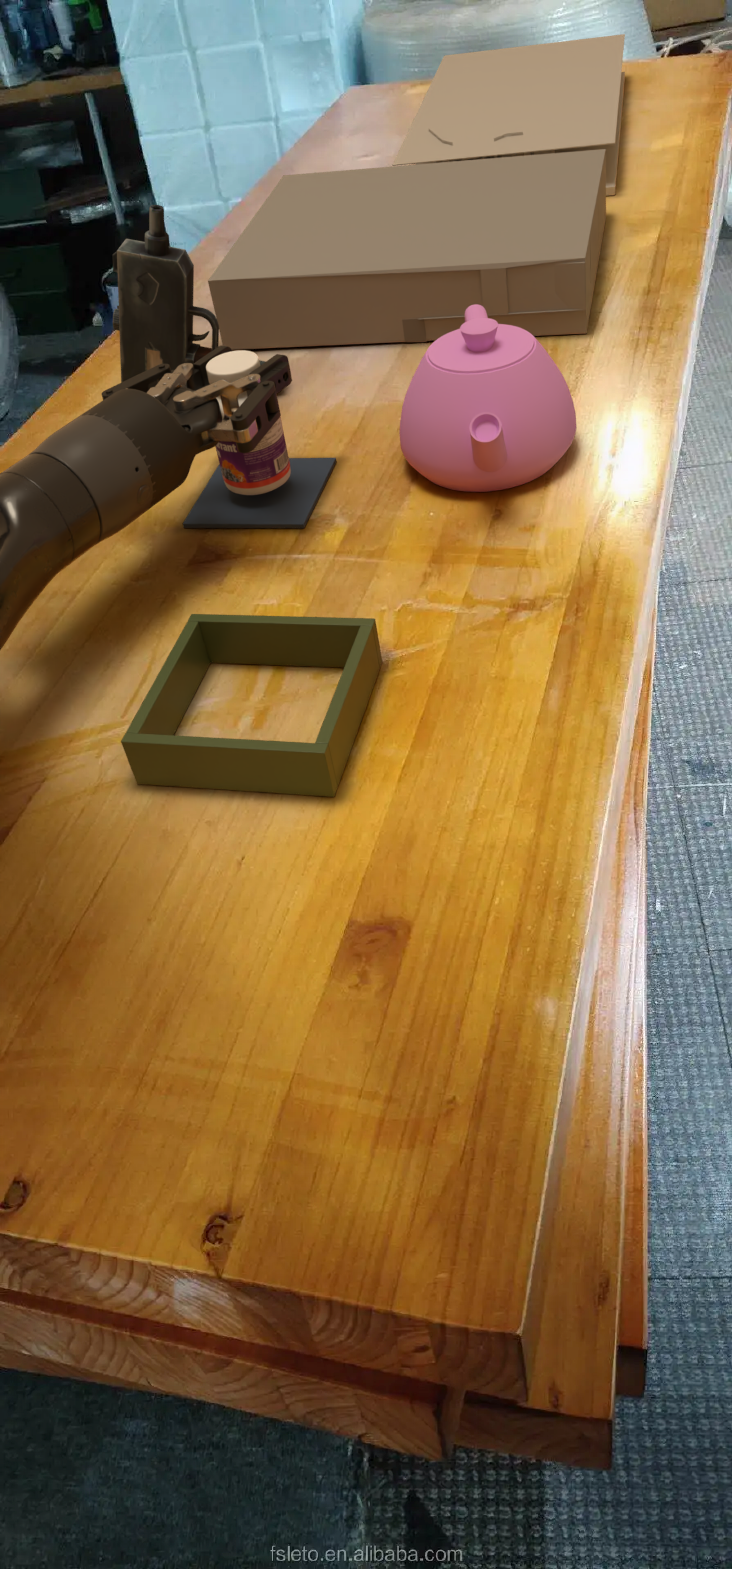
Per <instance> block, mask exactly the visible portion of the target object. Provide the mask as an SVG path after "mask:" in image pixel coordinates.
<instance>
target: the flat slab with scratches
mask: <svg viewBox="0 0 732 1569" xmlns="http://www.w3.org/2000/svg"><path fill="white" fill-rule="evenodd" d="M625 38H626V33H622V34H614V35H612V34H611V35H606V36H597V37H596V36H595V37H589V38H580V39H579V38H578V39H572V40H564V41H556V42H554V41H553V42H546V43H537V44H529V45H522V46H520V45H519V46H513V47H505V48H497V49H495V48H494V49H488V50H487V49H486V50H479V51H471V52H462V53H455V54H446V55H443V57H442V59H441V61H440V62H439V63H440V64H439V66H438V68H437V70H436V72H435V74H434V76H433V78H432V80H431V83H430V85H429V87H428V89H427V91H426V94H425V95H424V97H423V98H422V101H421V104H420V106H419V108H418V109H417V112H416V114H415V116H414V118H413V121H412V123H411V125H410V127H409V128H408V131H407V133H406V135H405V138H404V139H403V141H402V143H401V146H400V147H399V150H398V152H397V154H396V156H395V159H394V161H393V163H392V164H391V167H392V166H404V165H416V164H429V163H441V162H453V161H465V160H477V159H490V158H502V157H514V156H526V155H539V154H551V153H563V152H575V151H588V150H600V149H606V197H607V196H615V195H616V188H617V186H616V185H617V175H618V165H619V164H618V162H619V150H620V141H621V140H620V139H621V128H622V117H623V116H622V115H623V104H624V94H625V93H624V91H625V82H626V80H625V79H626V71H622V70H623V60H624V49H625Z"/></svg>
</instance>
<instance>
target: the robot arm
mask: <svg viewBox="0 0 732 1569" xmlns="http://www.w3.org/2000/svg"><path fill="white" fill-rule="evenodd" d="M231 351H233V350H231V348H230V347H228V346H223V345H218V347H217V348H216V349H214V350H213V351H211V352H210V353H208V354H207V355H205V356H204V357H203V358H201V359H200V360H198V361H197V362H195V363H194V364H191V363H184V364H181V365H179V366H178V367H177V368H176V369H175V370H171V369H170V365H169V364H160V365H157V366H155V367H153V368H151V369H149V370H147V371H145V372H142V373H140V374H138V375H136V376H134V377H132V378H130V379H128V380H126V381H124V382H122V383H121V382H120V383H117V384H116V385H113V386H111V387H109V388H107V389H105V390H103V391H102V392H101V397H102V400H101V401H100V402H98V403H97V404H95V405H93V406H92V407H91V408H89V409H88V410H86V411H85V412H83V413H81V414H80V415H79V416H77V417H75V418H74V419H72V420H71V421H70V422H68V423H66V424H65V425H63V426H62V427H60V428H59V429H58V430H56V431H54V432H53V433H51V434H50V435H49V436H48V437H47V438H46V439H44V440H43V441H42V442H41V443H40V444H39V445H38V446H37V447H36V448H34V450H32V452H30V453H28V454H27V455H25V456H24V457H23V458H22V459H21V458H20V459H19V460H18V461H17V462H15V463H14V464H12V465H11V466H9V467H7V468H6V469H4V470H3V471H2V472H0V651H1V650H3V648H4V646H5V644H6V643H7V642H8V641H9V639H10V637H11V635H12V634H13V632H14V631H15V629H16V627H17V626H18V625H19V623H20V622H21V620H22V618H23V617H24V616H25V614H26V613H27V611H28V610H29V609H30V607H31V606H32V605H33V604H34V603H35V602H36V600H37V599H38V597H39V596H40V595H41V594H42V592H43V591H44V590H45V589H46V587H48V585H49V584H50V583H51V581H53V579H54V578H55V577H56V576H57V575H58V574H59V573H60V572H62V571H63V570H65V569H66V568H67V567H69V566H70V565H71V564H72V563H74V562H75V561H77V560H78V559H79V558H80V557H82V556H83V555H85V554H86V553H87V552H88V551H90V550H91V549H92V548H94V547H95V546H97V545H98V544H100V543H101V542H103V541H105V540H106V539H109V538H111V537H113V536H114V535H116V534H118V533H120V532H121V531H122V530H124V529H125V528H127V527H128V526H129V525H130V524H131V523H133V522H134V521H135V520H137V519H138V518H140V517H141V516H142V515H144V514H145V513H146V512H148V511H149V510H150V509H152V508H153V507H154V506H156V505H157V504H159V502H161V501H163V499H165V498H166V497H168V496H169V495H170V494H171V493H172V492H174V491H175V490H176V489H178V488H179V487H180V486H182V485H183V483H185V481H186V480H187V478H188V476H189V473H190V471H191V468H192V464H193V462H194V459H195V458H196V456H197V455H199V454H201V453H203V452H205V451H208V450H211V449H213V448H216V447H215V446H216V445H217V444H218V442H219V441H230V442H236V445H237V449H238V452H240V453H248V452H251V451H252V450H254V449H255V447H256V446H257V445H258V444H259V442H260V441H261V440H262V439H263V437H264V436H265V435H266V434H267V432H268V431H269V430H270V429H271V427H272V426H273V425H274V424H275V422H276V421H277V420H278V419H279V417H281V415H282V414H281V408H280V404H279V398H278V394H279V393H280V392H281V391H283V390H284V389H285V388H287V387H288V386H290V385H291V384H292V382H293V378H292V370H291V367H290V362H289V357H288V355H286V354H280V353H277V354H274V355H273V356H272V357H270V358H269V359H267V360H266V362H265V363H263V364H262V365H261V366H259V367H258V368H256V369H255V370H254V371H252V372H251V373H250V375H247V376H245V377H243V378H240V379H238V380H236V381H233V382H231V383H229V382H227V381H225V380H219V381H217V382H214V383H212V384H210V383H209V380H208V375H207V371H206V365H207V363H208V362H209V361H210V360H211V359H213V358H214V357H216V356H218V355H220V354H223V353H227V352H231ZM156 380H157V381H158V384H157V385H156V386H155V387H151V388H150V389H148V386H149V384H150V383H152V382H154V381H156ZM245 391H246V392H247V396H248V397H247V398H246V400H245V401H244V402H243V403H242V404H241V405H240V407H239V403H238V395H239V394H240V393H242V392H245ZM218 396H220V398H221V402H222V406H223V411H224V418H223V420H222V414H221V410H220V406H219V402H218V400H217V399H216V397H218Z"/></svg>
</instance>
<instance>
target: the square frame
mask: <svg viewBox="0 0 732 1569" xmlns="http://www.w3.org/2000/svg"><path fill="white" fill-rule="evenodd" d="M382 663H383V657H382V651H381V646H380V639H379V632H378V627H377V621H376V618H372V617H371V618H370V617H369V618H368V617H335V616H333V617H331V616H294V615H255V614H254V615H253V614H252V615H251V614H244V615H243V614H215V613H214V614H212V613H211V614H210V613H191V614H190V615H189V617H188V619H187V621H186V623H185V625H184V626H183V629H182V630H181V632H180V634H179V635H178V637H177V639H176V641H175V643H174V644H173V647H172V649H171V650H170V652H169V653H168V655H167V657H166V660H165V661H164V663H163V665H162V666H161V668H160V670H159V672H158V674H157V675H156V678H155V679H154V681H153V683H152V685H151V687H150V688H149V690H148V692H147V693H146V696H145V697H144V699H143V701H142V702H141V705H140V706H139V708H138V709H137V712H136V713H135V715H134V717H133V718H132V721H131V722H130V724H129V726H128V728H127V730H126V732H125V733H124V735H123V737H122V739H121V740H120V743H121V746H122V748H123V751H124V753H125V756H126V759H127V761H128V764H129V766H130V769H131V772H132V775H133V777H134V780H135V782H136V784H137V785H149V786H150V785H151V786H164V787H178V788H179V787H180V788H193V789H194V788H195V789H207V790H208V789H209V790H210V789H211V790H225V791H239V792H241V791H242V792H253V793H270V794H283V795H284V794H285V795H298V796H299V795H301V796H314V797H329V798H334V797H336V794H337V791H338V788H339V785H340V782H341V779H342V777H343V774H344V771H345V769H346V765H347V763H348V760H349V758H350V754H351V751H352V748H353V746H354V743H355V740H356V738H357V734H358V732H359V729H360V726H361V723H362V721H363V717H364V715H365V712H366V710H367V707H368V703H369V701H370V697H371V695H372V692H373V689H374V687H375V684H376V681H377V678H378V675H379V672H380V669H381V667H382ZM211 664H230V665H231V664H232V665H233V664H234V665H261V666H262V665H263V666H288V667H290V666H291V667H315V668H341V669H342V668H343V670H342V671H341V672H342V673H341V675H340V676H339V677H340V678H339V680H338V683H337V685H336V688H335V691H334V693H333V695H332V697H331V700H330V703H329V706H328V708H327V711H326V713H325V716H324V719H323V722H322V724H321V726H320V729H319V731H318V734H317V737H316V740H315V742H303V741H302V742H301V741H286V740H285V741H284V740H266V739H247V738H246V739H245V738H226V737H209V736H192V735H191V736H190V735H175V733H176V732H177V729H178V727H179V726H180V723H181V721H182V719H183V718H184V716H185V714H186V712H187V710H188V708H189V706H190V704H191V702H192V700H193V698H194V696H195V694H196V692H197V689H198V688H199V686H200V685H201V683H202V680H203V678H204V676H205V675H206V672H207V671H208V668H209V667H210V665H211Z"/></svg>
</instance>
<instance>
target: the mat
mask: <svg viewBox="0 0 732 1569" xmlns="http://www.w3.org/2000/svg"><path fill="white" fill-rule="evenodd" d="M289 462H290V469H291V473H290V477H289V478H288V480H287V481H286V482H285V483H284V484H283V485H281V486H280V487H278V488H276V489H274V490H272V491H269V492H267V493H263V494H258V495H241V494H237V493H234V492H232V491H231V490H229V489H228V488H227V487H226V485H225V482H224V479H223V476H222V472H221V468H220V463H218V465H217V467H216V469H215V470H214V472H213V473H212V475H211V477H209V478H210V479H208V482H207V483H206V485H205V487H204V488H203V490H202V492H201V493H200V494H199V496H198V498H197V499H196V501H195V503H194V504H193V506H192V508H191V509H190V511H189V513H188V514H187V515H186V517H185V519H184V521H183V522H182V527H183V528H184V529H305V528H306V526H307V523H308V521H309V519H310V517H311V515H312V513H313V511H314V510H315V507H316V505H317V503H318V502H319V499H320V497H321V495H322V492H323V491H324V488H325V487H326V484H327V482H328V480H329V478H330V476H331V475H332V472H333V470H334V468H335V466H336V465H337V457H289Z"/></svg>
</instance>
